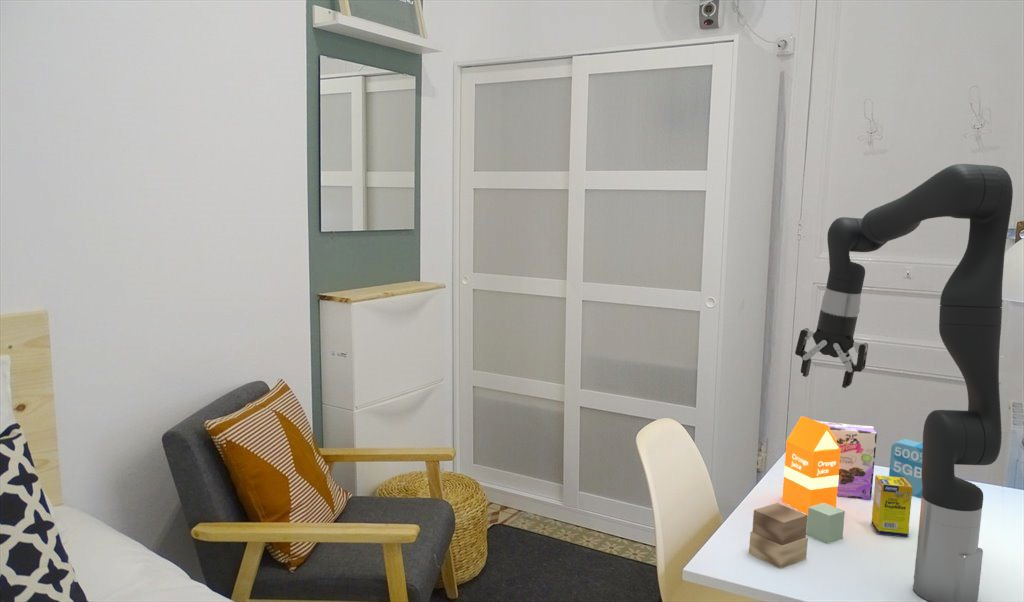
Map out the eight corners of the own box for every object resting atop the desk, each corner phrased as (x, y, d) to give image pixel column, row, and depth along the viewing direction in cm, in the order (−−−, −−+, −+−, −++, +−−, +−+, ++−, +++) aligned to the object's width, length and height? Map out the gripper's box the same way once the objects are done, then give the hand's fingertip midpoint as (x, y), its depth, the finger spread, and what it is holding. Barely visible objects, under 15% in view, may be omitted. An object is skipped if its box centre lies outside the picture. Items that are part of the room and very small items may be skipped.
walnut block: (805, 537, 151) (807, 515, 151) (782, 545, 147) (783, 522, 147) (775, 524, 157) (777, 502, 156) (752, 531, 153) (753, 509, 153)
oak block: (806, 560, 151) (807, 538, 151) (780, 569, 147) (782, 546, 147) (774, 545, 158) (775, 524, 157) (748, 553, 154) (750, 531, 153)
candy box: (808, 493, 186) (813, 425, 184) (806, 484, 192) (811, 419, 190) (871, 500, 182) (877, 432, 180) (868, 492, 188) (874, 425, 186)
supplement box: (908, 537, 163) (913, 486, 161) (877, 534, 164) (882, 484, 162) (900, 526, 168) (905, 477, 167) (870, 523, 170) (875, 474, 168)
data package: (887, 488, 191) (891, 440, 189) (895, 484, 194) (900, 437, 192) (939, 504, 182) (944, 453, 180) (947, 499, 184) (952, 450, 183)
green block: (842, 538, 161) (844, 510, 161) (827, 544, 159) (829, 515, 158) (821, 529, 165) (823, 502, 165) (806, 534, 163) (808, 507, 162)
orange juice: (808, 497, 183) (814, 414, 181) (836, 511, 175) (843, 424, 173) (781, 501, 181) (787, 416, 178) (808, 516, 172) (815, 427, 170)
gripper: (800, 305, 170) (787, 376, 174) (869, 321, 161) (853, 395, 166) (811, 300, 176) (798, 368, 180) (878, 315, 167) (863, 386, 171)
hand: (824, 381), depth 173 cm, fingers open, 8 cm apart
